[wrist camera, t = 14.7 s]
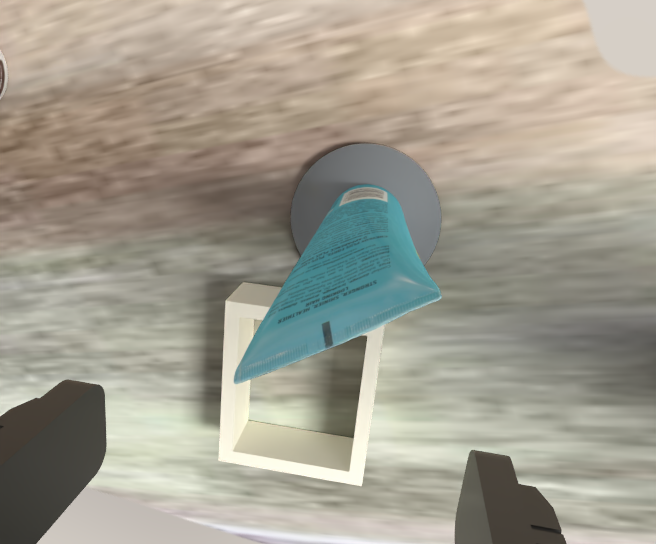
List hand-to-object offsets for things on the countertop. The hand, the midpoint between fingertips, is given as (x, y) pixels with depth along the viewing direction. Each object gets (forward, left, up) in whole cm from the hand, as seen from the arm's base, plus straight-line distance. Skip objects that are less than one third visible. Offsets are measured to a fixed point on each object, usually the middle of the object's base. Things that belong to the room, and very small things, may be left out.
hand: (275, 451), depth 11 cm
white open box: (+3, +12, -26) cm, 28 cm away
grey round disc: (0, 0, -26) cm, 26 cm away
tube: (0, 0, -25) cm, 25 cm away
